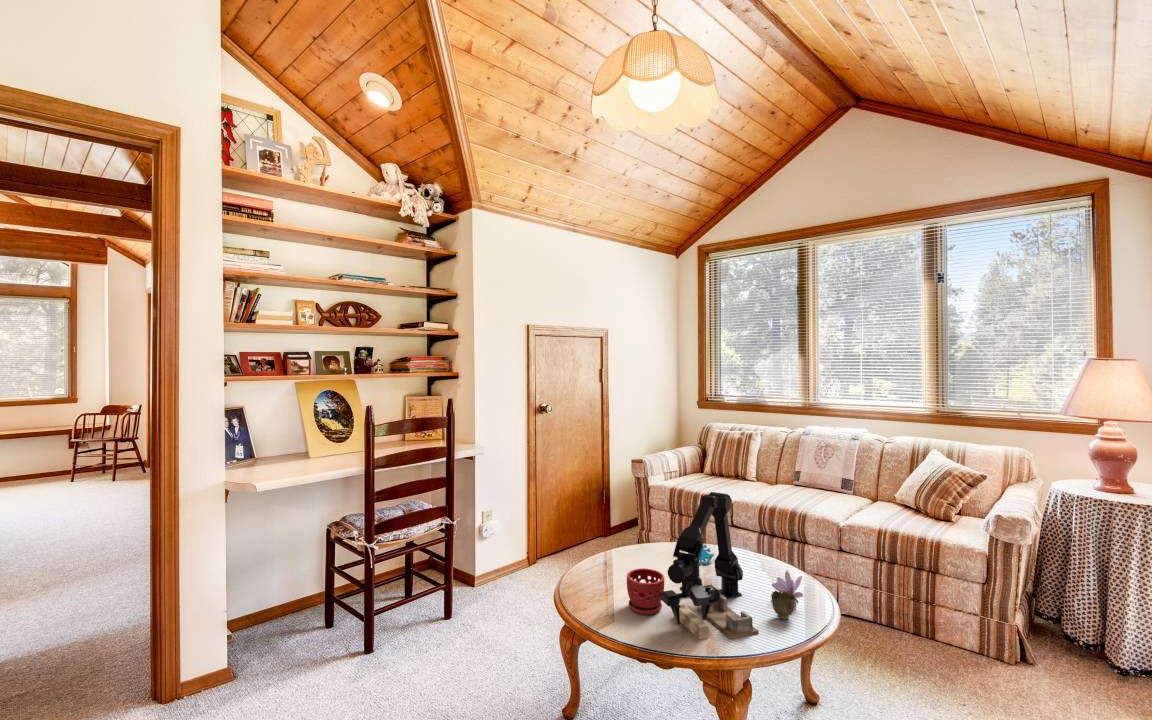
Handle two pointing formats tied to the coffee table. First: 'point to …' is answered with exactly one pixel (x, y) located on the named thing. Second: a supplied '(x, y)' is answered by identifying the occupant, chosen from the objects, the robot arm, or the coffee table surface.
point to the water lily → (788, 587)
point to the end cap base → (730, 619)
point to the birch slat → (693, 622)
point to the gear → (705, 555)
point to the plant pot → (645, 590)
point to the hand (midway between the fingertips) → (691, 621)
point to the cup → (783, 604)
